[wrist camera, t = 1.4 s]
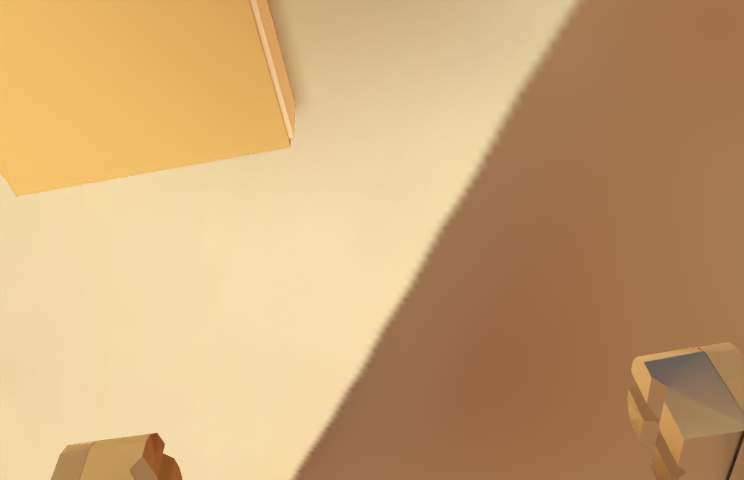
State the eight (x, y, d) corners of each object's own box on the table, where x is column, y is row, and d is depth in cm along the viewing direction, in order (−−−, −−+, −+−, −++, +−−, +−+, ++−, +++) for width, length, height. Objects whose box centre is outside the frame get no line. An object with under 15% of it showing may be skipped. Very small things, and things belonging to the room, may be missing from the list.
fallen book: (-82, -57, 28) (-130, -28, 25) (235, -121, 27) (226, -99, 24) (42, 153, 35) (16, 196, 32) (296, 106, 34) (295, 146, 31)
